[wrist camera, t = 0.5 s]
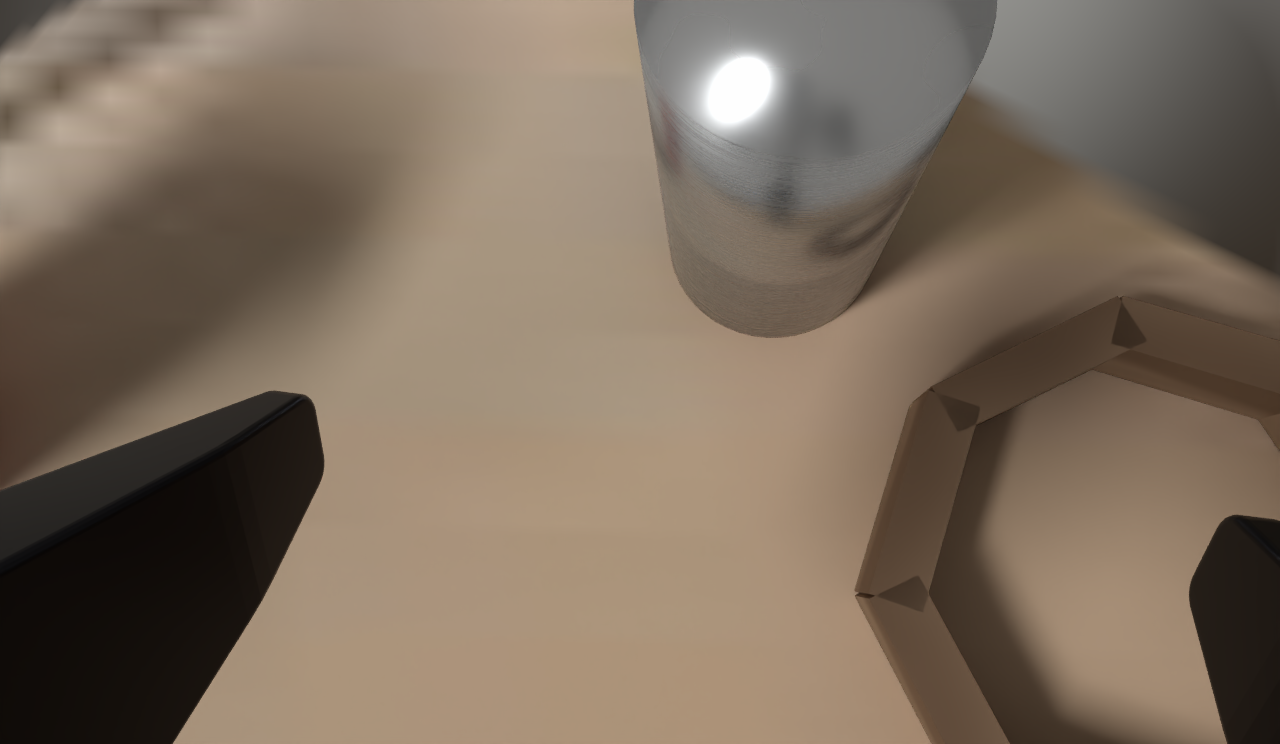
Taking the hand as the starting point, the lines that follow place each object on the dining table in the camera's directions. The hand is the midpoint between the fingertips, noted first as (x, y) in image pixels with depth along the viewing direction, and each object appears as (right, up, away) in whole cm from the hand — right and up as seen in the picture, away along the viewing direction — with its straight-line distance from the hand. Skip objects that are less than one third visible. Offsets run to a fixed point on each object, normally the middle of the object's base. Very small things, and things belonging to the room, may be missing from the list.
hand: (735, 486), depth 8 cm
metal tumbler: (+3, +5, +14) cm, 15 cm away
